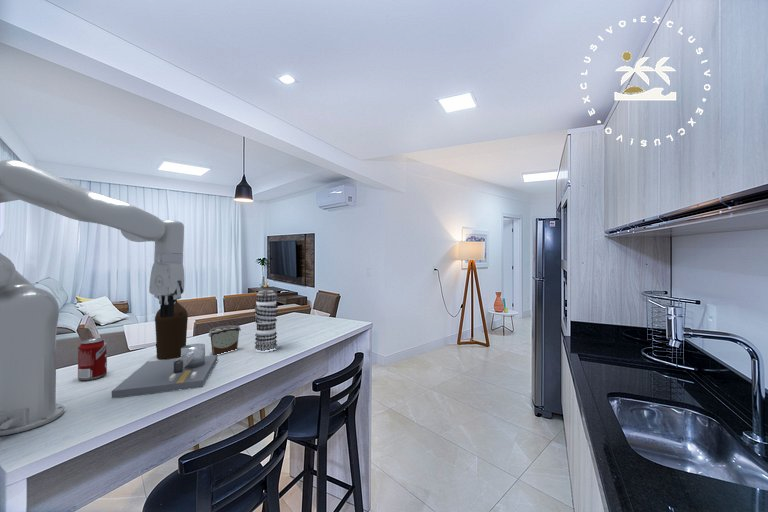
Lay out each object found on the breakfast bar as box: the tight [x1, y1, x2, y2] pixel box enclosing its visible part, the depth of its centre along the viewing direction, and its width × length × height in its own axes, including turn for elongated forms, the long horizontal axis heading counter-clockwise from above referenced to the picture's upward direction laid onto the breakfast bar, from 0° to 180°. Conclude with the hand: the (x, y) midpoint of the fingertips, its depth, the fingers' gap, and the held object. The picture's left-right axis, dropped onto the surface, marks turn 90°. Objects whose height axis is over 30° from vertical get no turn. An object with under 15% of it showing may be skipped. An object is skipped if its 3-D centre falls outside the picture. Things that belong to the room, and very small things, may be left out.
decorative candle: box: [254, 289, 279, 351], centre depth 128 cm, size 9×9×25 cm
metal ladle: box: [173, 343, 206, 373], centre depth 98 cm, size 20×7×6 cm, turn 18°
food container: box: [208, 325, 241, 356], centre depth 125 cm, size 12×6×10 cm, turn 144°
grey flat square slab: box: [111, 355, 218, 399], centre depth 99 cm, size 25×22×3 cm
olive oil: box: [154, 299, 189, 360], centre depth 120 cm, size 11×11×25 cm
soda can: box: [77, 337, 108, 381], centre depth 98 cm, size 7×7×12 cm
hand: (166, 316), depth 96 cm, fingers closed
